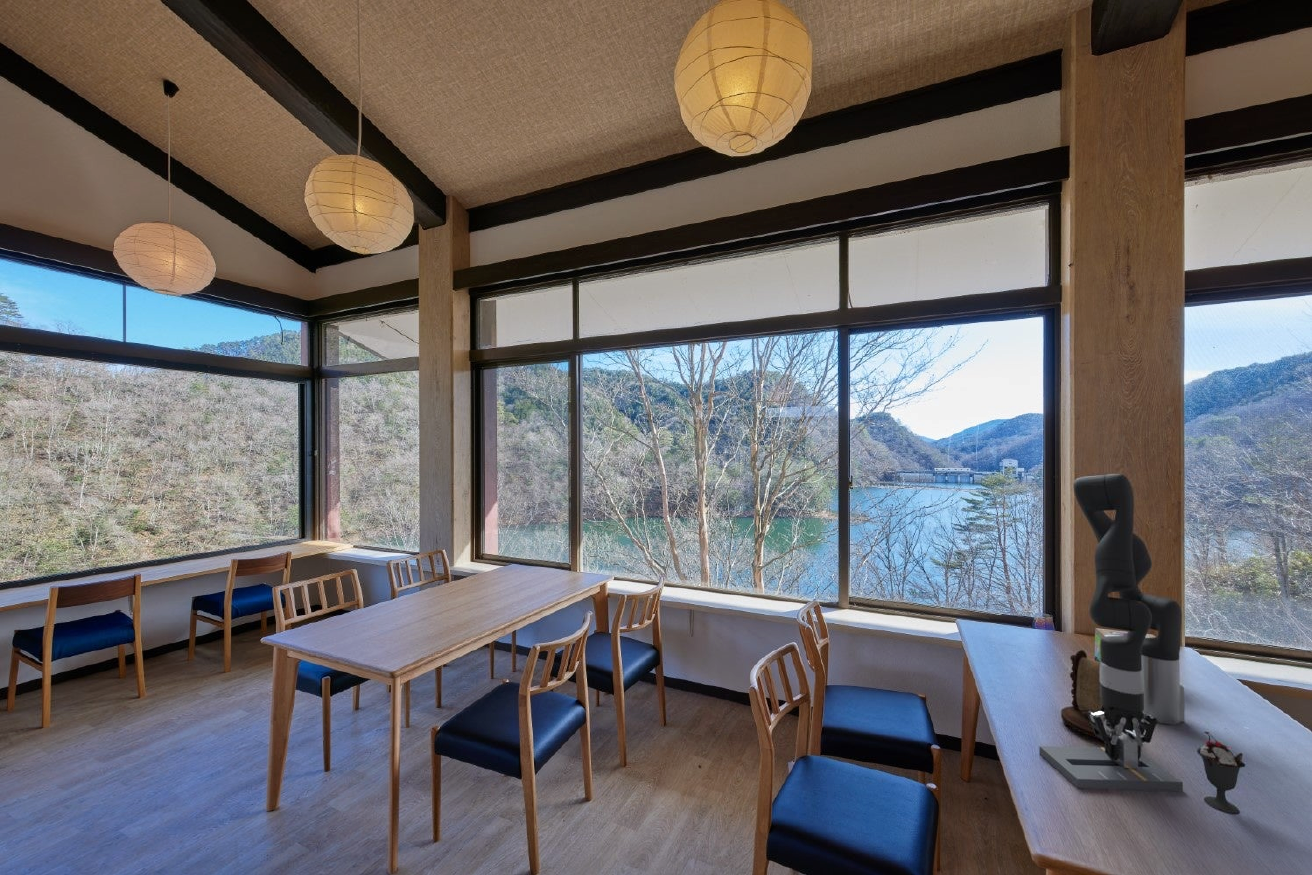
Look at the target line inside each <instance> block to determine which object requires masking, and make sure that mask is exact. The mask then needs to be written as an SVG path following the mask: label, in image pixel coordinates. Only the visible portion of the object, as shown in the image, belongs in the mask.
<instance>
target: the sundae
mask: <svg viewBox="0 0 1312 875" xmlns="http://www.w3.org/2000/svg"><path fill="white" fill-rule="evenodd" d="M1204 734H1206V735H1207V736H1208V740H1207V741H1205V744H1204V745H1202V746H1201V747H1198V749H1197V750H1196V753H1197V754H1198V755H1199V756H1201V758H1202V761H1203V767H1204V772H1205V775H1206V780H1208V781H1209V783H1210V784H1211V785H1212V786H1214V787H1215V789H1216V794H1215V796H1212V795H1211V796H1205V797H1203V800H1204V802H1205V803H1206V804H1207V805H1209V806H1210V807H1212V808H1213V809H1215V810H1218V811H1220V812H1223V813H1226V814H1229V815H1230V814H1231V815H1236V814H1239V813H1240V810H1239V808H1238V807H1237V806H1236V805H1234V804H1233V803H1231V802H1229V801H1228V800H1227V798H1226V797H1227V796H1226V792H1227V791H1232V790H1233V789H1235V788H1236V785H1237V782H1238V775H1239V772H1240V769H1241V768H1245V767H1246V763H1244V762H1243V761H1242V760H1243V753H1242V752H1240V753H1238V754H1236V755H1235V754H1234V752H1233V751H1232V750H1231V748H1229V747H1228V746H1226V745H1225V744H1223V743H1222V742H1220V741H1218V740H1217V739H1216V738H1214V736H1212V734H1210V731H1204ZM1211 738H1213V740H1214V741H1215V742H1212V741H1211Z"/></svg>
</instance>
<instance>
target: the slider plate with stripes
mask: <svg viewBox="0 0 1312 875" xmlns="http://www.w3.org/2000/svg"><path fill="white" fill-rule="evenodd" d="M1038 747H1039V755H1040V756H1041V757H1042V758H1043V759H1044V760H1045V761H1047V762H1048V763H1049V764H1050V765H1051V766H1052V767H1054V769H1056V770H1057V771H1058V772H1059V774H1061V775H1062V776H1064V778H1066V779H1067V780H1068V781H1069V782H1070V783H1071V784H1072V785H1073V786H1074V787H1075V788H1076V789H1096V790H1097V789H1099V790H1101V789H1103V790H1129V791H1130V790H1131V791H1133V790H1134V791H1161V792H1184V785H1183V784H1184V782H1183V781H1181V779H1179V778H1177V777H1176V776H1175V775H1173V774H1172V773H1170V772H1169V771H1167V770H1165V769H1164V768H1163V767H1162V766H1160V765H1159V764H1157V763H1155V762H1154V761H1153V760H1151V759H1150V758H1149V757H1147V756H1146V755H1144V754H1143V753H1141V757H1140V758H1139V761H1138V769H1135V768H1123V767H1122V766H1118V763H1117V762H1115V761H1114V760H1112V759H1111V758H1110V757H1108V756H1107V754H1106V753H1105V747H1103V746H1100V747H1099V746H1098V747H1093V746H1092V747H1091V746H1088V747H1087V746H1060V745H1059V746H1057V745H1054V746H1053V745H1039V746H1038Z"/></svg>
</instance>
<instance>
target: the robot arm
mask: <svg viewBox="0 0 1312 875" xmlns="http://www.w3.org/2000/svg"><path fill="white" fill-rule="evenodd" d="M1073 493H1074V496H1075V499H1076V502H1077V504H1078V506H1079V508H1080V510H1081V511H1082V513H1083V515H1084V516H1085V519H1086V520H1087V522H1088V524H1089V525H1090V527H1091V529H1092V531H1093V533H1094V536H1095V538H1096V541H1097V543H1098V544H1097V546H1096V548H1095V551H1094V566H1095V578H1096V579H1095V581H1096V582H1095V588H1094V592H1093V597H1092V600H1091V602H1090V604H1089V617H1090V618H1091V620H1092V621H1093V622H1094V623H1095V624H1096V625H1097V626H1099V627H1103V628H1108V629H1113V630H1120V631H1126V632H1128V633H1126V634H1125V635H1122V636H1107V637H1103V638H1102V639H1101V642H1100V649H1101V663H1100V671H1099V673H1100V699H1101V702H1102V707H1101V709H1100V711H1099V712H1096V713H1093V712H1091V711H1089V712H1088V717H1089V720H1090V722H1091V725H1092V728H1093V731H1094V734H1095V735H1096V736H1097V737H1099V738H1098V739H1101V740H1102V741H1103V742H1104V748H1105V753H1106V754H1107V756H1108V757H1110V758H1111V759H1112V760H1118V749H1117V745H1116V743H1117V740H1118V736H1121V733H1122V730H1126V733H1127V735H1128V736H1129V737H1131V738H1132V739H1134V740H1135V741H1137V742H1138V761H1139V758H1140V757H1141V754H1142V753H1141V752H1142V751H1141V750H1142V747H1141V746H1142V745H1143V743H1147V744H1149V743H1151V742H1152V738H1153V734H1154V733H1155V729H1156V727H1157V723H1159V724H1166V725H1179V724H1181V723H1183V722H1186V720H1185V718H1186V716H1185V687H1184V686H1183V685H1181V683H1180V682H1181V680H1180V679H1181V677H1180V676H1181V675H1180V674H1181V673H1180V672H1181V671H1180V668H1181V667H1180V666H1181V665H1180V650H1181V635H1182V634H1181V633H1182V632H1181V630H1182V617H1183V616H1182V609H1181V606H1180V604H1179V603H1178V602H1177V601H1176V600H1174V599H1170V598H1166V597H1162V596H1161V597H1160V596H1156V595H1152V594H1147V593H1144V592H1142V591H1141V590H1140V588H1139V584H1140V583H1141V582H1142V581H1143V580H1144V578H1145V577H1146V576H1147V575H1148V574H1149V572H1150V570H1151V568H1152V559H1151V557H1150V554H1149V551H1148V549H1147V547H1146V544H1145V542H1144V541H1143V540H1142V539H1141V538H1140V537H1139V536H1138V535H1137V534H1136V533H1134V517H1135V516H1134V514H1135V498H1134V491H1133V488H1132V484H1131V482H1130V480H1129V478H1127V476H1126V475H1124V474H1123V473H1111V474H1100V475H1089V476H1081V477H1078V478H1076V479H1075V480H1074V481H1073ZM1105 511H1115V515H1114V519H1113V518H1111V517H1110V516H1108V514H1106V512H1105ZM1115 592H1116V593H1117V592H1118V597H1113V596H1112V597H1111V596H1109V594H1111V593H1115ZM1149 630H1154V631H1157V632H1158V633H1157V634H1158V635H1157V636H1155V637H1154V638H1145V637H1146V635H1147V634H1148V632H1149ZM1103 718H1105V721H1103ZM1103 723H1104V724H1103ZM1111 726H1112V727H1114V728H1115V729H1114V728H1112V727H1111ZM1110 734H1111V737H1110Z"/></svg>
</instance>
